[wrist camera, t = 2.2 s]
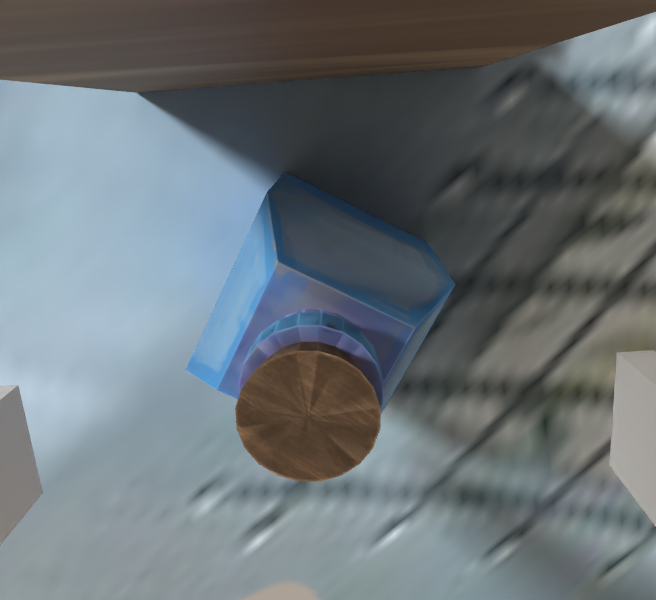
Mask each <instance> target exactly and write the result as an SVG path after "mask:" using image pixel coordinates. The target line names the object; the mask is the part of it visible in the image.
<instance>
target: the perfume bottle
mask: <svg viewBox="0 0 656 600" xmlns="http://www.w3.org/2000/svg"><path fill="white" fill-rule="evenodd" d="M455 285H456V284H455V283H454V281H453V280H452V278H451V277H450V275H449V274H448V273H447V271H446V270H445V268H444V267H443V265H442V264H441V262H440V261H439V259H438V258H437V256H436V255H435V253H434V252H433V250H432V249H431V247H430V246H429V244H428V243H427V242H425V241H423V240H421V239H419V238H417V237H415V236H413V235H411V234H409V233H407V232H405V231H403V230H401V229H399V228H397V227H395V226H393V225H391V224H389V223H387V222H385V221H383V220H381V219H379V218H377V217H375V216H373V215H371V214H369V213H367V212H365V211H363V210H361V209H359V208H357V207H355V206H353V205H351V204H349V203H347V202H345V201H343V200H341V199H339V198H337V197H335V196H333V195H331V194H329V193H327V192H325V191H323V190H321V189H319V188H317V187H315V186H313V185H311V184H309V183H307V182H305V181H302V180H300V179H298V178H296V177H294V176H292V175H290V174H288V173H286V172H285V173H284V174H283V175H282V176H281V177H280V178H279V179H278V180H277V182H276V183H275V184H274V185H273V186H272V187H271V188H270V189H269V191H268V192H267V194H266V196H265V198H264V200H263V202H262V205H261V207H260V209H259V211H258V213H257V215H256V218H255V220H254V222H253V224H252V226H251V228H250V231H249V233H248V235H247V237H246V239H245V242H244V244H243V246H242V248H241V250H240V252H239V255H238V257H237V259H236V261H235V263H234V266H233V268H232V270H231V272H230V274H229V276H228V279H227V281H226V283H225V285H224V287H223V289H222V292H221V294H220V296H219V298H218V300H217V303H216V305H215V307H214V309H213V311H212V313H211V316H210V318H209V320H208V322H207V324H206V326H205V329H204V331H203V333H202V335H201V337H200V340H199V342H198V344H197V346H196V348H195V350H194V353H193V355H192V357H191V359H190V361H189V364H188V366H187V368H186V371H188V372H190V373H191V374H193V375H194V376H196V377H197V378H199V379H201V380H202V381H204V382H205V383H207V384H208V385H210V386H212V387H213V388H215V389H216V390H218V391H221V392H223V393H225V394H227V395H230V396H232V397H234V398H236V399H238V401H237V405H236V408H235V409H236V424H237V431H238V433H239V435H240V438H241V440H242V442H243V445H244V447H245V449H246V450H247V451H248V452H249V453H250V454H251V455H252V457H253V458H254V459H255V460H256V461H257V462H258V463H259V464H260V465H262V466H263V467H265V468H266V469H268V470H270V471H271V472H273V473H275V474H276V475H278V476H282V477H285V478H289V479H293V480H296V481H323V480H327V479H330V478H334V477H337V476H341V475H343V474H344V473H346V472H348V471H349V470H351V469H352V468H354V467H355V466H357V465H358V464H360V463H361V462H362V460H363V459H364V458H365V457H366V456H367V454H368V453H369V452H370V451H371V449H372V448H373V447H374V444H375V441H376V439H377V436H378V433H379V431H380V416H381V413H382V411H383V410H384V408H385V406H386V404H387V403H388V401H389V399H390V398H391V396H392V394H393V392H394V391H395V389H396V387H397V385H398V384H399V382H400V380H401V378H402V377H403V375H404V373H405V371H406V370H407V368H408V366H409V365H410V363H411V361H412V359H413V358H414V356H415V354H416V352H417V351H418V349H419V347H420V345H421V344H422V342H423V340H424V338H425V337H426V335H427V333H428V332H429V330H430V328H431V326H432V325H433V323H434V321H435V319H436V318H437V316H438V314H439V312H440V311H441V309H442V307H443V305H444V304H445V302H446V300H447V299H448V297H449V295H450V293H451V292H452V290H453V288H454V286H455Z"/></svg>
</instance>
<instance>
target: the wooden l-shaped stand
mask: <svg viewBox="0 0 656 600" xmlns="http://www.w3.org/2000/svg"><path fill="white" fill-rule="evenodd" d="M653 12H656V0H0V79H1V80H11V81H22V82H32V83H42V84H53V85H63V86H74V87H84V88H95V89H105V90H115V91H126V92H147V91H161V90H174V89H187V88H201V87H214V86H227V85H240V84H254V83H267V82H280V81H294V80H307V79H320V78H334V77H347V76H360V75H373V74H387V73H400V72H413V71H427V70H440V69H453V68H467V67H480V66H486V65H489V64H492V63H495V62H498V61H501V60H505V59H508V58H511V57H514V56H517V55H520V54H523V53H527V52H530V51H533V50H536V49H539V48H542V47H545V46H549V45H552V44H555V43H558V42H561V41H564V40H567V39H571V38H574V37H577V36H580V35H583V34H586V33H590V32H593V31H596V30H599V29H602V28H605V27H608V26H612V25H615V24H618V23H621V22H624V21H627V20H630V19H634V18H637V17H640V16H643V15H646V14H649V13H653Z"/></svg>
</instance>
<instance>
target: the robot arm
mask: <svg viewBox="0 0 656 600" xmlns="http://www.w3.org/2000/svg"><path fill="white" fill-rule="evenodd" d="M609 466H610V467H611V469H612V470H613V471H614V473H615V474H616V475H617V477H618V478H619V479H620V480H621V482H622V483H623V484H624V486H625V487H626V488H627V490H628V491H629V492H630V494H631V495H632V496H633V497H634V499H635V500H636V501H637V503H638V504H639V505H640V507H641V508H642V509H643V510H644V512H645V513H646V514H647V516H648V517H649V518H650V520H651V521H652V522H653V524H654V525H655V526H656V352H655V351H654V350H647V351H629V352H617V357H616V373H615V388H614V403H613V419H612V434H611V449H610V465H609ZM42 493H43V492H42V488H41V483H40V479H39V475H38V470H37V466H36V461H35V457H34V453H33V448H32V444H31V439H30V435H29V431H28V426H27V422H26V417H25V413H24V409H23V404H22V400H21V395H20V391H19V387H18V385H12V386H0V545H1V544H2V543H3V541H4V540H5V539H6V538H7V536H8V535H9V534H10V533H11V531H12V530H13V529H14V528H15V526H16V525H17V524H18V523H19V521H20V520H21V519H22V518H23V517H24V515H25V514H26V513H27V512H28V510H29V509H30V508H31V507H32V505H33V504H34V503H35V502H36V500H37V499H38V498H39V497H40V495H41V494H42Z"/></svg>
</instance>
